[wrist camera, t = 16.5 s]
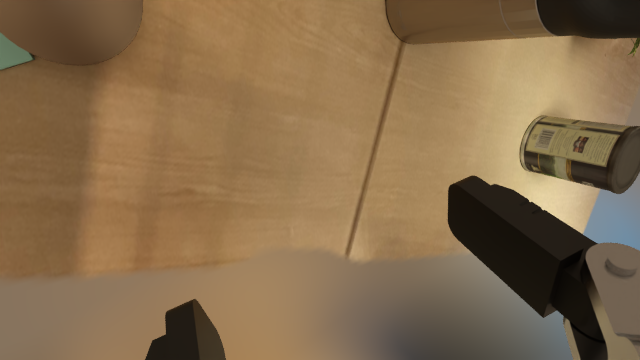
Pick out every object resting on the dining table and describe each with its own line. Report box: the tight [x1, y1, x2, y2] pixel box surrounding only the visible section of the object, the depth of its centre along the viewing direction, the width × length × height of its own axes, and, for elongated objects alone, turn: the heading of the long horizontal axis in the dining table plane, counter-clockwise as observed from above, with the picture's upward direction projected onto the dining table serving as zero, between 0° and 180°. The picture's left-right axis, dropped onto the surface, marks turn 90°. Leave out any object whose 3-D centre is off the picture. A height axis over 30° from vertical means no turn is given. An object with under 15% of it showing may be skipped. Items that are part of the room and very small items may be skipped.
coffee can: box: [520, 116, 640, 194], centre depth 59 cm, size 10×10×14 cm
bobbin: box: [0, 0, 143, 65], centre depth 23 cm, size 7×7×12 cm
